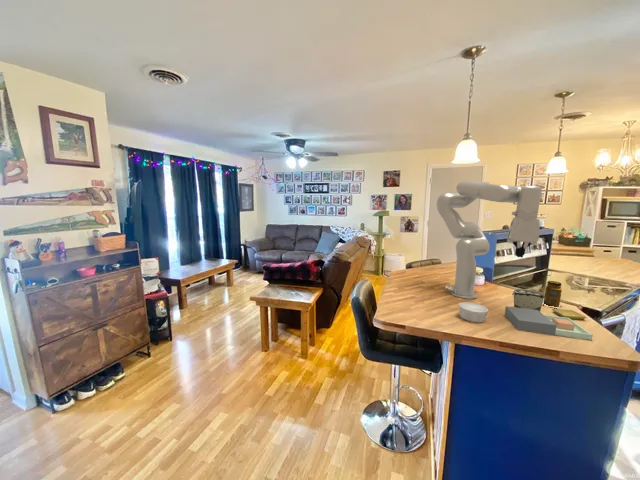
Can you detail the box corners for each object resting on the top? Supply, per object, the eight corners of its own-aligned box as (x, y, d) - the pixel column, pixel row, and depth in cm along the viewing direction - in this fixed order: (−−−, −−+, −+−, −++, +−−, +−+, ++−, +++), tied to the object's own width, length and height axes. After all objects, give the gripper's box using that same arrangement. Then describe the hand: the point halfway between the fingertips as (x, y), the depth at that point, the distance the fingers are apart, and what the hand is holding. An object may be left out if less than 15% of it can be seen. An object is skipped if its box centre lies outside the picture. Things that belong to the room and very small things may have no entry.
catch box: (555, 335, 101) (555, 329, 101) (536, 318, 116) (537, 313, 116) (591, 340, 97) (592, 334, 97) (568, 322, 112) (568, 317, 112)
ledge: (517, 329, 105) (519, 320, 104) (504, 314, 120) (505, 306, 119) (555, 335, 101) (556, 325, 101) (536, 318, 116) (537, 310, 116)
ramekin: (474, 325, 108) (476, 313, 107) (451, 315, 118) (452, 303, 118) (493, 321, 113) (494, 309, 112) (469, 311, 123) (470, 300, 122)
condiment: (562, 306, 132) (565, 282, 131) (556, 309, 128) (560, 285, 126) (544, 301, 138) (547, 279, 137) (538, 304, 134) (541, 281, 132)
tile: (574, 324, 104) (573, 330, 104) (567, 319, 108) (566, 325, 109) (558, 322, 105) (558, 328, 105) (552, 317, 110) (551, 323, 110)
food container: (537, 311, 125) (539, 290, 124) (543, 316, 119) (545, 294, 118) (506, 307, 129) (508, 287, 128) (510, 311, 123) (513, 291, 122)
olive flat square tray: (563, 320, 116) (564, 315, 116) (550, 312, 125) (551, 308, 124) (586, 322, 115) (587, 317, 114) (571, 314, 123) (572, 309, 123)
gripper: (508, 214, 113) (502, 256, 116) (551, 216, 108) (543, 260, 111) (503, 213, 120) (497, 253, 123) (543, 215, 115) (535, 256, 118)
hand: (519, 256), depth 117 cm, fingers closed
